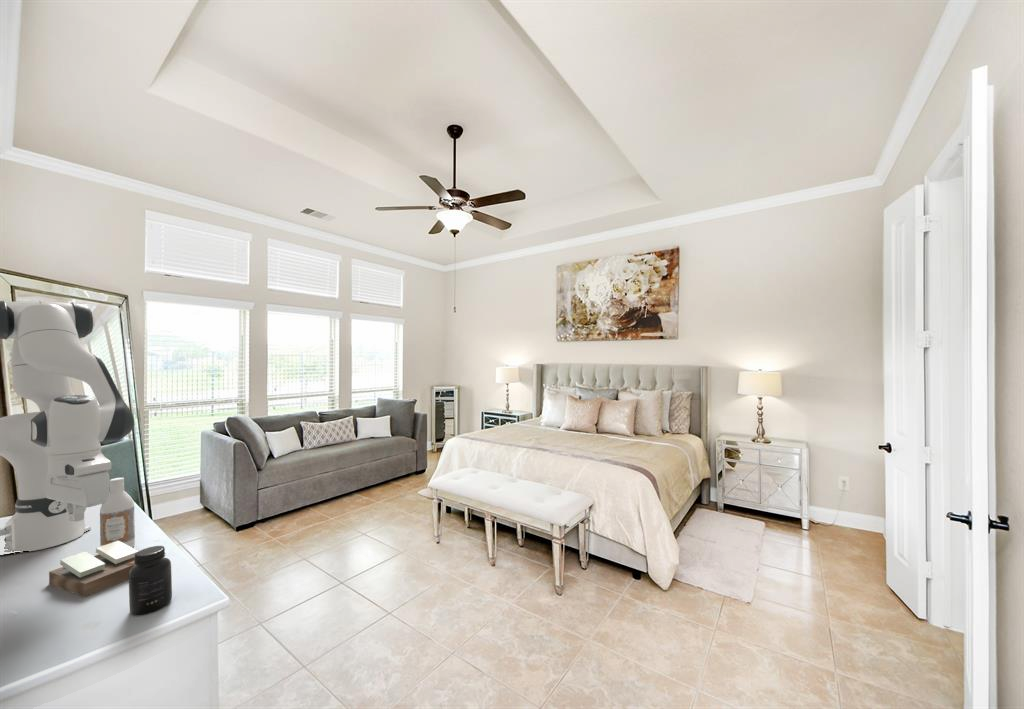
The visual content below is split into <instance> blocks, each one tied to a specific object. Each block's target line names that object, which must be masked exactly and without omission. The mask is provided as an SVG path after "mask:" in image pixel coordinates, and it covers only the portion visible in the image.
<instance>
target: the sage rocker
mask: <svg viewBox="0 0 1024 709" xmlns="http://www.w3.org/2000/svg"><path fill="white" fill-rule="evenodd" d="M94 556H95V555H92V554H90V553H89V552H87V551H85V550H84V551H82V552H79V553H77V554H74V555H69V556H67V557H64V558H62V559H60V561H59V565H60V566H61V567H65V568H66V569H68V570H69V571H71V572H72V573H74V574H75V575H77V576H78V577H80V578H81V577H83V576H86V575H89V574H91V573H94V572H97V571H99V570H102V569H105V563H104V562H102V561H100V560H99V559H97V558H96V557H94Z"/></svg>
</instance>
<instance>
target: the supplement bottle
mask: <svg viewBox="0 0 1024 709" xmlns="http://www.w3.org/2000/svg"><path fill="white" fill-rule="evenodd" d="M165 550H166V549H165V546H164V545H154V546H150V547H146V548H143V549H140V550H137V551H138V552H137V553H136V554H135V561H134V564H135V566H134V567H133V568H132V569H131V570H130V572H129V579H128V597H129V599H128V600H129V601H128V603H129V604H128V605H129V613H130V614H131V615H132V616H138V617H140V616H145V615H149V614H152V613H154V612H157V611H159V610H161V609H163V608H165V607H166V606H167V605H169V604H170V602H171V601H172V599H173V585H172V584H173V583H172V581H173V580H172V579H173V578H172V561H171V560H170V558H168V557H166V552H165Z"/></svg>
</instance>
